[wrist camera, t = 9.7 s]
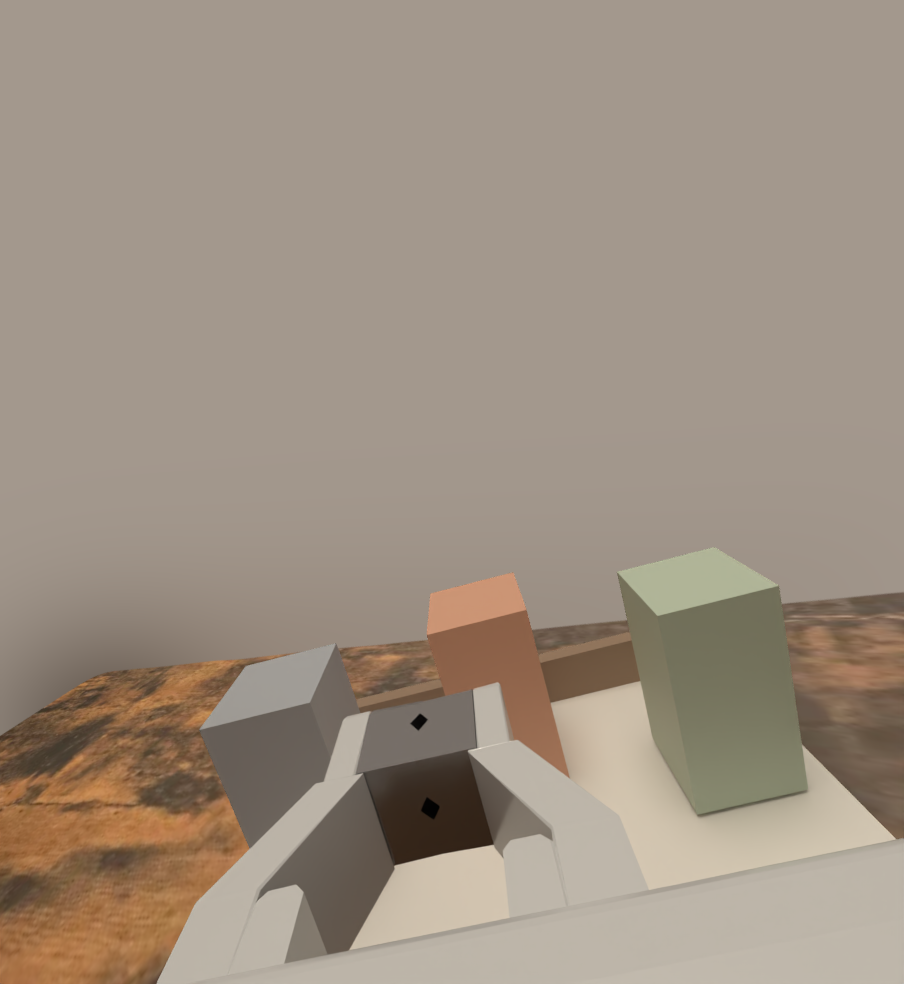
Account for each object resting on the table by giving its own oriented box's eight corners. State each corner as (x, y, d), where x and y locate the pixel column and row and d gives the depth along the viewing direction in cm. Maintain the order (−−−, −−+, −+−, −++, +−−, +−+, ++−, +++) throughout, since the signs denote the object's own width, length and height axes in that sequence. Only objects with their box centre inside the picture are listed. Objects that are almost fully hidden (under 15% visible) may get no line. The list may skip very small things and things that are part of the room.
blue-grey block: (276, 910, 23) (199, 729, 21) (306, 819, 28) (246, 666, 26) (378, 887, 23) (309, 702, 21) (390, 800, 28) (336, 643, 26)
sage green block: (697, 814, 22) (657, 615, 20) (652, 737, 27) (616, 571, 25) (808, 789, 22) (779, 585, 20) (742, 716, 27) (714, 547, 25)
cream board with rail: (184, 1144, 17) (137, 1058, 16) (322, 752, 36) (303, 702, 35) (1004, 975, 16) (999, 871, 15) (704, 658, 34) (694, 604, 34)
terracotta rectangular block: (478, 803, 26) (426, 634, 24) (473, 737, 31) (430, 593, 29) (570, 781, 26) (526, 609, 24) (551, 719, 31) (513, 572, 29)
